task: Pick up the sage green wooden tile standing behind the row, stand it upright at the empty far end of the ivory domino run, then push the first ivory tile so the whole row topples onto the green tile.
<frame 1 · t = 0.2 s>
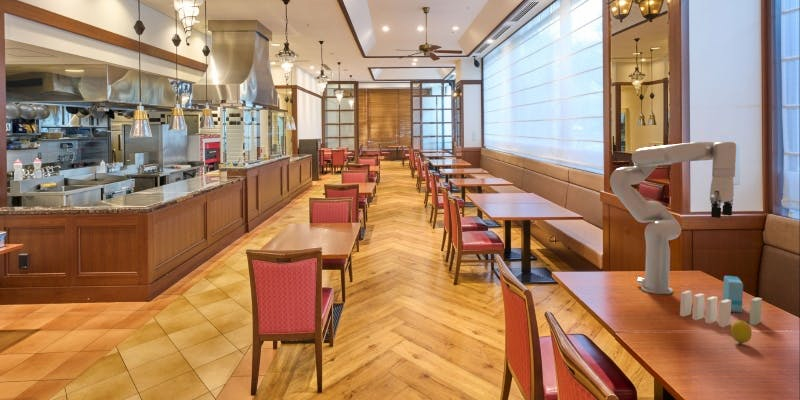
hand: (721, 216, 193), 36 cm above the table, tool pointing down, fingers open, 9 cm apart
tile 3: (710, 321, 179), on the table
tile 4: (724, 325, 175), on the table
tile 1: (685, 314, 186), on the table
lemon: (740, 344, 159), on the table
data package: (731, 308, 192), on the table
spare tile: (755, 323, 176), on the table
tile 2: (697, 318, 182), on the table
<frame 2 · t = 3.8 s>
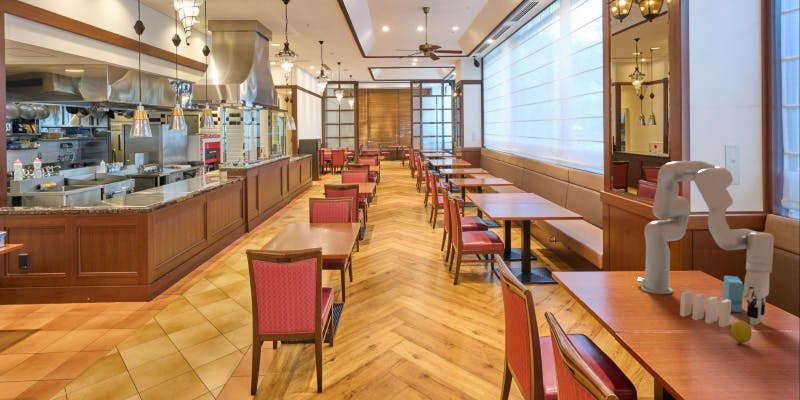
hand: (755, 315, 176), 3 cm above the table, tool pointing down, fingers closed on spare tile, 4 cm apart
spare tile: (755, 323, 176), on the table, touching gripper
everything else where it was.
when the fingers open (4 cm above the table, at t = 8.6 s): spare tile stays where it is, on the table.
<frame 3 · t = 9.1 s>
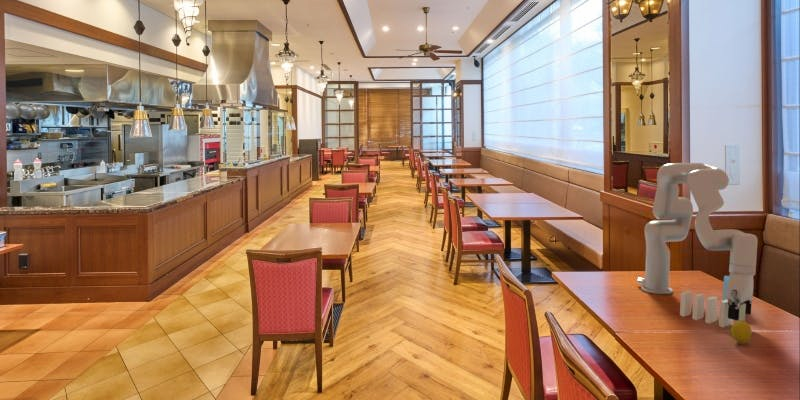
hand: (739, 316, 171), 5 cm above the table, tool pointing down, fingers open, 9 cm apart
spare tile: (738, 328, 171), on the table
everything else where it was.
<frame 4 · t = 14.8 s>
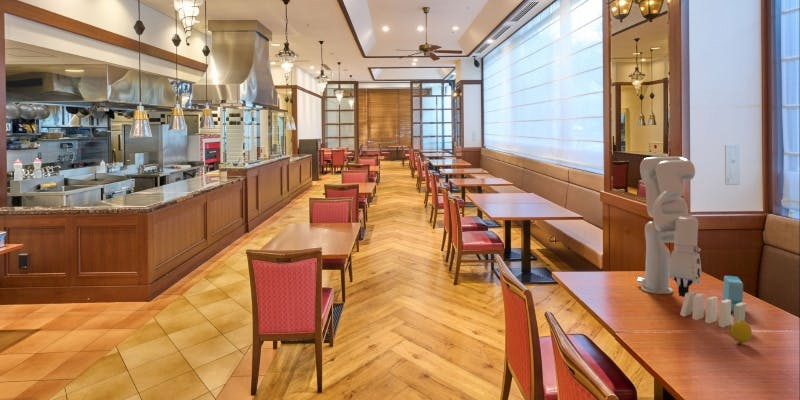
hand: (683, 295, 186), 7 cm above the table, tool pointing down, fingers closed
tile 1: (685, 314, 186), on the table, tilted 10°
everything else where it was.
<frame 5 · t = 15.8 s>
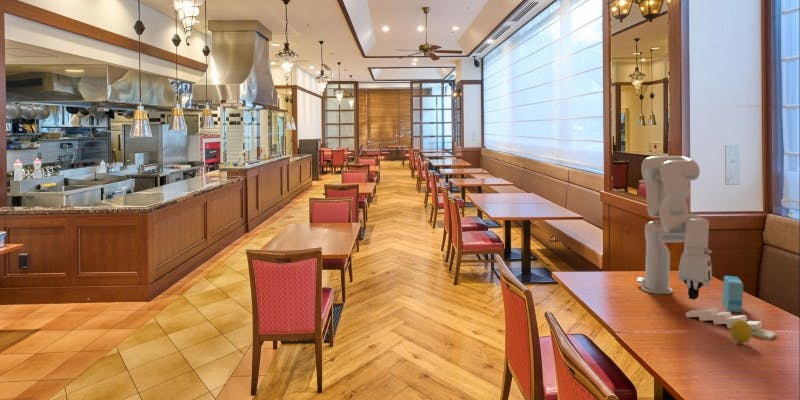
hand: (693, 298, 183), 7 cm above the table, tool pointing down, fingers closed
tile 3: (716, 320, 177), point 1 cm above the table, tilted 69°, touching tile 2, tile 4
tile 4: (729, 324, 174), point 1 cm above the table, tilted 75°, touching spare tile, tile 3
tile 1: (689, 313, 185), point 1 cm above the table, tilted 70°, touching tile 2
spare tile: (742, 329, 170), on the table, tilted 90°, touching tile 4
tile 2: (702, 317, 181), point 1 cm above the table, tilted 70°, touching tile 1, tile 3
everything else where it was.
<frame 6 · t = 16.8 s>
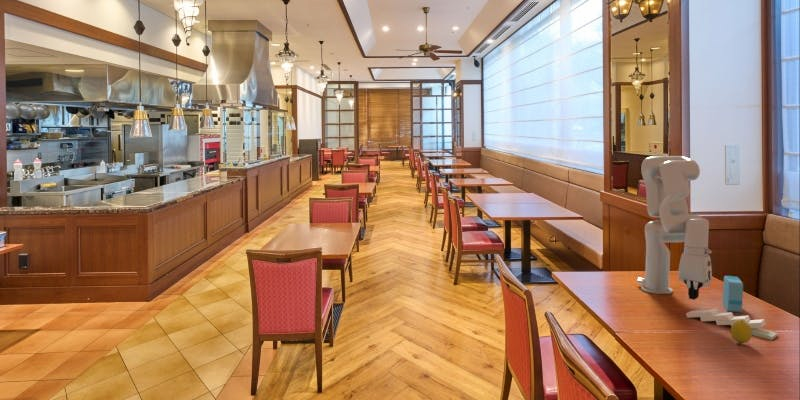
hand: (693, 298, 183), 7 cm above the table, tool pointing down, fingers closed
tile 3: (719, 321, 176), point 1 cm above the table, tilted 70°, touching tile 2, tile 4
tile 4: (733, 325, 173), point 1 cm above the table, tilted 71°, touching tile 3
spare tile: (743, 329, 170), on the table, tilted 90°
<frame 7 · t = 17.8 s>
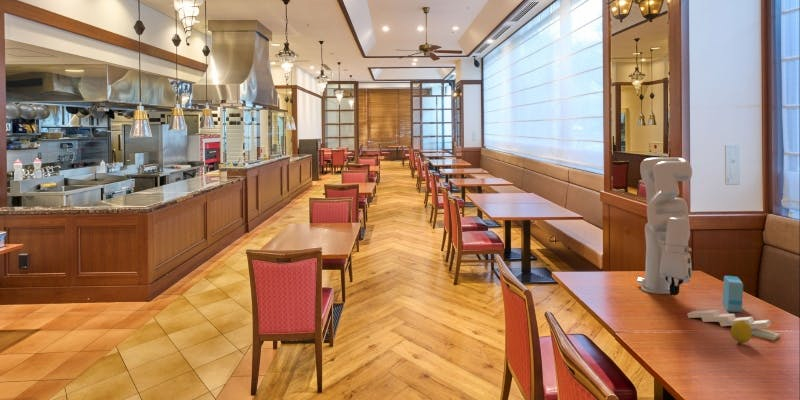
hand: (674, 294, 189), 7 cm above the table, tool pointing down, fingers closed
tile 3: (722, 322, 175), point 1 cm above the table, tilted 70°, touching tile 2
tile 4: (738, 325, 172), point 1 cm above the table, tilted 70°, touching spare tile
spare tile: (745, 330, 170), on the table, tilted 90°, touching tile 4
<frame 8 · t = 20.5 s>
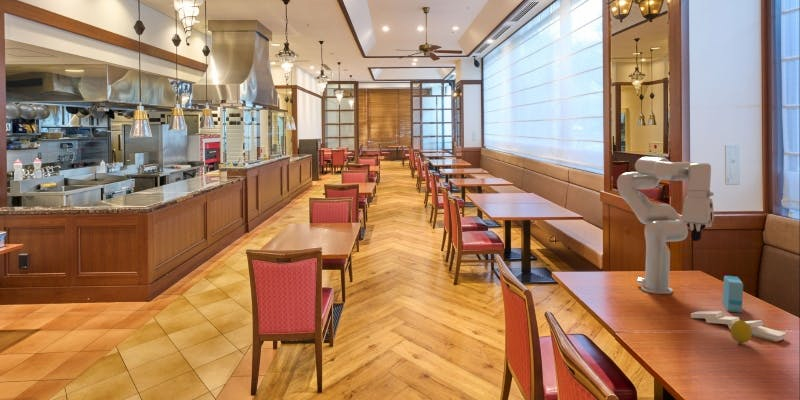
hand: (695, 240, 192), 27 cm above the table, tool pointing down, fingers closed
tile 3: (733, 325, 172), point 1 cm above the table, tilted 67°, touching tile 2
tile 4: (751, 328, 167), point 2 cm above the table, tilted 90°, touching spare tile
tile 1: (694, 314, 184), point 1 cm above the table, tilted 74°, touching tile 2
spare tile: (748, 331, 168), on the table, tilted 90°, touching tile 4
tile 2: (709, 319, 179), point 1 cm above the table, tilted 76°, touching tile 1, tile 3
everything else where it was.
at the end: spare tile tilted 90°; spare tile inside the target area (0.6 cm from its centre), on the table; tile 1 tilted 74° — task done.
